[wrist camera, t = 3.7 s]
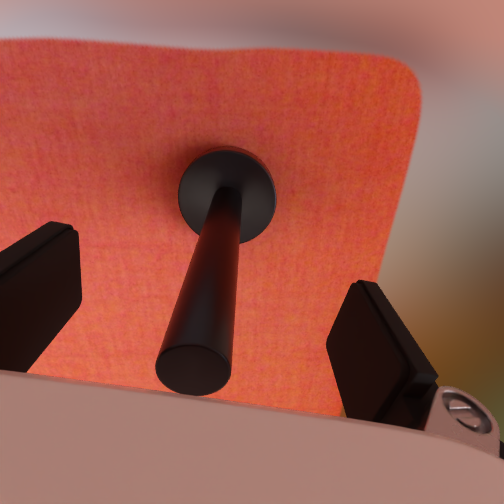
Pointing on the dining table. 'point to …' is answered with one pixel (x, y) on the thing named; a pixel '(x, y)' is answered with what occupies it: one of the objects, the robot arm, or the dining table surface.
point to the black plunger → (213, 266)
